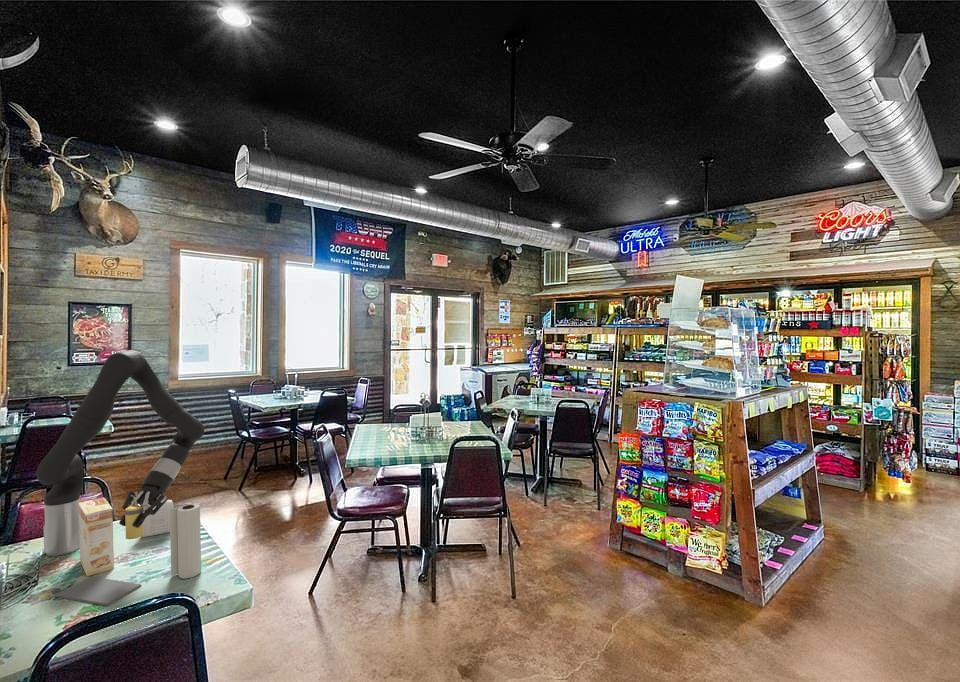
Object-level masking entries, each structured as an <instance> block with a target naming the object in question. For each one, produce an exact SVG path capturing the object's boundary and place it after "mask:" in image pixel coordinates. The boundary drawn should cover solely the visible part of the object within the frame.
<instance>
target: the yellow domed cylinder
mask: <svg viewBox="0 0 960 682" xmlns="http://www.w3.org/2000/svg"><path fill="white" fill-rule="evenodd" d="M142 508H143V506H142V505H134V506H130V507H128V508H126V509H125V510H124V514H125V525H126V526H125V540H135V539H138V538H142V537H141V536H143V535H144V529H143V523H142V525H141V526H140V527H139V528H136V527H134V526H132V524H133V523H134V521H135V520H136V518H137V516H138V515H139V514H141V511H142Z"/></svg>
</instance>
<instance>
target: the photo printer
mask: <svg viewBox="0 0 960 682" xmlns="http://www.w3.org/2000/svg"><path fill="white" fill-rule="evenodd" d="M155 508H156V506H155V507H154V508H153V510H154V509H155ZM173 508H175V505H174V502H173V500H172V499H168V500H167V501H166V502H165V503H164V505H163V506H162V507H161V508H160V509H159V510H158V511H157V512H156V513H155V514H154V515H152V514H151V515H149V516H147V517H146V518H145V520H144V521H143V529H144V535H143V536H141V537H140V538H148V537H153V536H157V535H161V534H167V533H170V509H173Z"/></svg>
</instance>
